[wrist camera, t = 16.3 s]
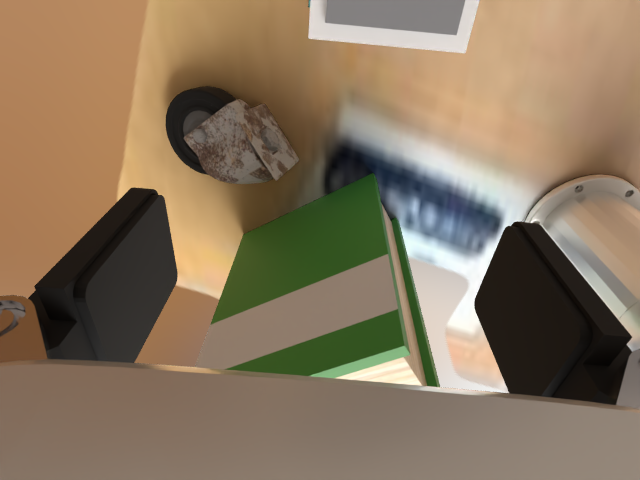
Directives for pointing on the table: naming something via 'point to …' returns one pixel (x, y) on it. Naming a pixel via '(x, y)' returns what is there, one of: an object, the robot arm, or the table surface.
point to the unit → (395, 22)
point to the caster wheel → (227, 137)
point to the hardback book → (324, 297)
